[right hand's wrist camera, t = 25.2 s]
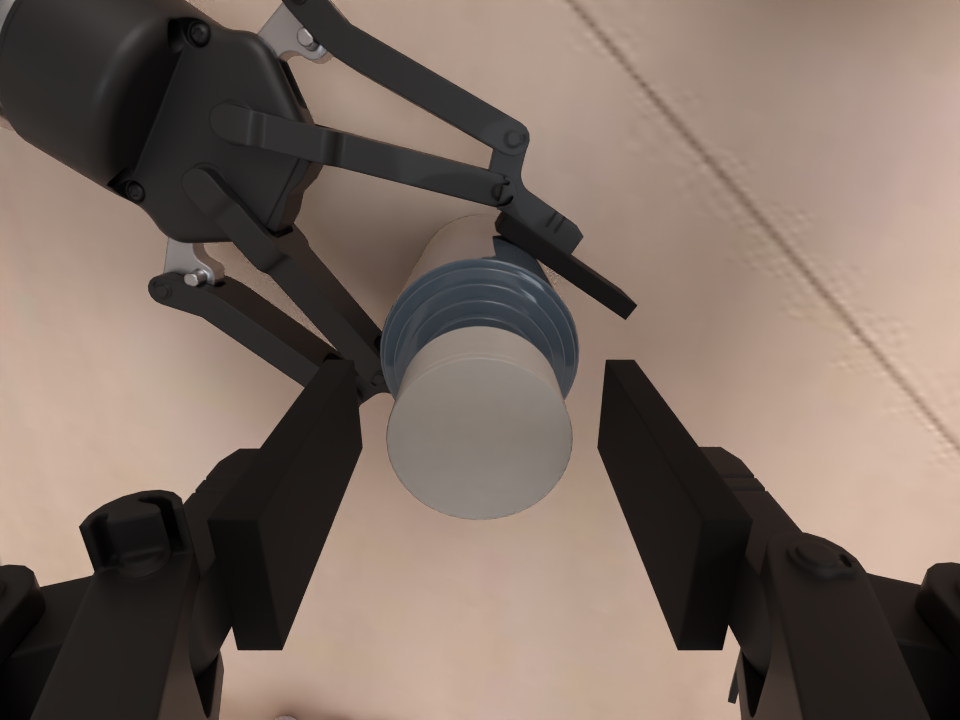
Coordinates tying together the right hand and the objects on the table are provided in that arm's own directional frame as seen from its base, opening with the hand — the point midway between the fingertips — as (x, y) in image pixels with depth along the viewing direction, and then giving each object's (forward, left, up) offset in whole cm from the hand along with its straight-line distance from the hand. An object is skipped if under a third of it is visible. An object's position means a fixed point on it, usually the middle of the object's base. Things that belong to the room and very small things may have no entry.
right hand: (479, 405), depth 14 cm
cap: (0, 0, +2) cm, 2 cm away
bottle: (0, 0, -16) cm, 16 cm away
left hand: (0, -5, -9) cm, 11 cm away
